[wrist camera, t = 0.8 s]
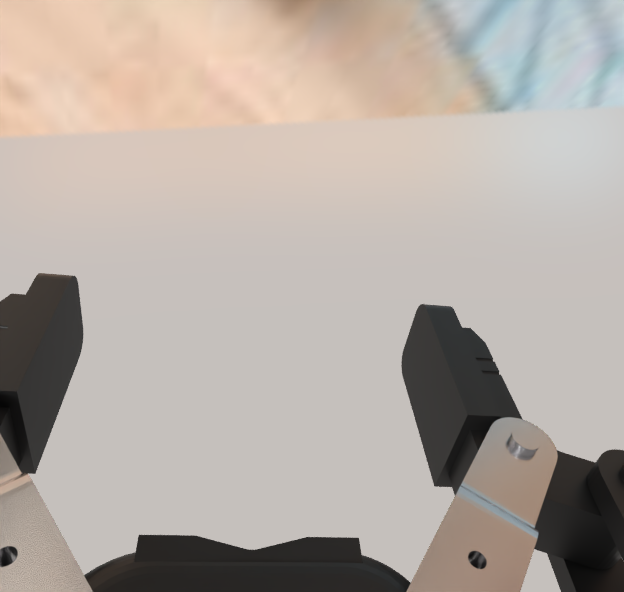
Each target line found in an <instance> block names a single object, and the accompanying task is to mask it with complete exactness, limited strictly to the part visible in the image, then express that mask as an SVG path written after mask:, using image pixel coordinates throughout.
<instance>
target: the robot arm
mask: <svg viewBox="0 0 624 592" xmlns="http://www.w3.org/2000/svg"><path fill="white" fill-rule="evenodd" d="M82 343H83V324H82V315H81V306H80V297H79V288H78V282H77V278H76V277H75V276H69V275H56V274H44V273H39V274H38V275H37V276H36V278H35V279H34V281H33V283H32V285H31V287H30V288H29V290H28V292H27V293H26V295H22V294H10V295H9V296H8V297H6V298H5V299H3V300H2V301H1V302H0V592H520V590H521V587H522V584H523V581H524V578H525V575H526V572H527V569H528V566H529V563H530V560H531V557H532V554H533V551H534V549H536V550H539V551H542V552H545V553H547V554H548V557H549V560H550V562H551V565H552V568H553V571H554V573H555V576H556V579H557V582H558V584H559V587H560V590H561V592H624V562H623V561H624V451H623V450H609V451H606V452H604V453H603V454H602V455H601V456H600V457H599V459H598V460H597V462H596V463H594V462H591V461H588V460H585V459H581V458H578V457H575V456H572V455H569V454H565V453H562V452H560V451H557V450H556V447H555V445H554V443H553V442H552V440H551V439H550V438H549V437H548V435H547V434H546V433H545V432H544V431H542V430H541V429H540V428H538V427H537V426H535V425H534V424H532V423H530V422H528V421H525V420H523V419H522V417H521V416H520V414H519V411H518V409H517V407H516V405H515V403H514V401H513V399H512V397H511V395H510V393H509V391H508V389H507V387H506V384H505V382H504V380H503V378H502V376H501V375H499V370H498V368H497V366H496V364H495V362H493V358H492V356H491V354H490V352H489V349H488V347H487V345H486V343H485V342H484V341H483V340H482V339H481V338H480V337H479V336H478V335H477V334H476V333H475V332H474V331H473V330H472V329H471V328H462V327H461V324H460V322H459V320H458V318H457V316H456V313H455V311H454V309H453V308H452V307H449V306H437V305H424V304H422V305H420V306H419V307H418V309H417V311H416V314H415V317H414V320H413V323H412V326H411V329H410V332H409V335H408V338H407V341H406V344H405V347H404V351H403V355H402V374H403V378H404V382H405V385H406V389H407V392H408V395H409V399H410V403H411V406H412V410H413V413H414V416H415V420H416V423H417V427H418V430H419V434H420V437H421V441H422V444H423V448H424V451H425V455H426V458H427V462H428V465H429V468H430V472H431V476H432V479H433V482H434V486H439V487H452V488H453V491H454V494H455V497H454V499H453V501H452V503H451V505H450V507H449V509H448V511H447V513H446V515H445V517H444V519H443V521H442V523H441V525H440V527H439V529H438V531H437V533H436V535H435V537H434V539H433V541H432V543H431V544H430V546H429V549H428V550H427V552H426V554H425V556H424V558H423V560H422V562H421V564H420V566H419V568H418V570H417V572H416V574H415V576H414V578H413V580H412V582H411V583H410V582H409V581H408V580H407V579H405V578H404V577H403V576H402V575H400V574H399V573H398V572H396V571H395V570H393V569H392V568H390V567H388V566H387V565H385V564H383V563H381V562H379V561H376V560H374V559H372V558H369V557H366V556H362V555H361V549H360V544H359V538H331V537H329V538H328V537H327V538H326V537H306V538H302V539H298V540H294V541H290V542H286V543H282V544H277V545H274V546H269V547H266V548H261V549H257V550H247V549H243V548H240V547H235V546H232V545H228V544H225V543H221V542H217V541H213V540H210V539H206V538H202V537H198V536H180V535H139V537H138V543H137V548H136V553H132V554H128V555H124V556H122V557H119V558H116V559H113V560H111V561H109V562H107V563H105V564H103V565H101V566H99V567H97V568H95V569H94V570H92V571H90V572H89V573H87V574H85V575H83V573H82V571H81V569H80V567H79V565H78V564H77V562H76V560H75V558H74V556H73V554H72V553H71V551H70V549H69V547H68V545H67V543H66V542H65V540H64V538H63V536H62V534H61V532H60V531H59V529H58V527H57V525H56V523H55V521H54V519H53V518H52V516H51V514H50V512H49V510H48V509H47V507H46V505H45V503H44V501H43V499H42V498H41V496H40V494H39V492H38V490H37V488H36V486H35V485H34V483H33V481H32V479H31V478H30V476H29V475H28V474H27V473H33V474H35V473H36V470H37V468H38V465H39V462H40V460H41V457H42V454H43V452H44V449H45V446H46V444H47V441H48V438H49V436H50V433H51V430H52V428H53V425H54V422H55V420H56V417H57V415H58V412H59V409H60V407H61V404H62V401H63V399H64V396H65V393H66V391H67V388H68V386H69V383H70V380H71V378H72V375H73V372H74V370H75V367H76V364H77V362H78V359H79V356H80V353H81V349H82ZM621 557H622V558H621ZM622 559H623V560H622Z"/></svg>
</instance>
